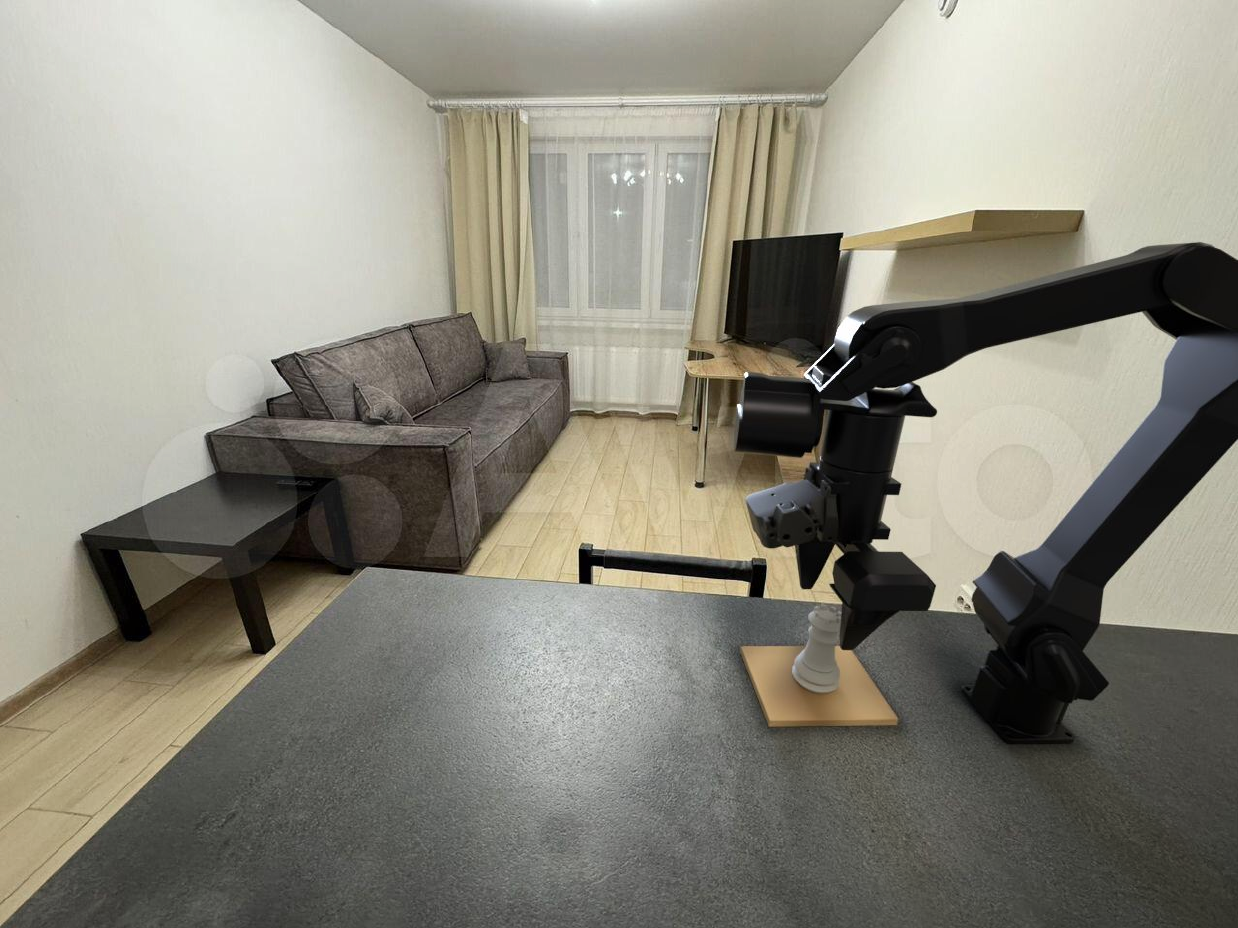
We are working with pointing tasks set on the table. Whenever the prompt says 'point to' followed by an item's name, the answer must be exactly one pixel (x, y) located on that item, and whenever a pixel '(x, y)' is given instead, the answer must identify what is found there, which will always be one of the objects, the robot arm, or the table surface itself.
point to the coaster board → (801, 707)
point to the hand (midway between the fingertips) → (824, 616)
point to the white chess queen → (819, 652)
